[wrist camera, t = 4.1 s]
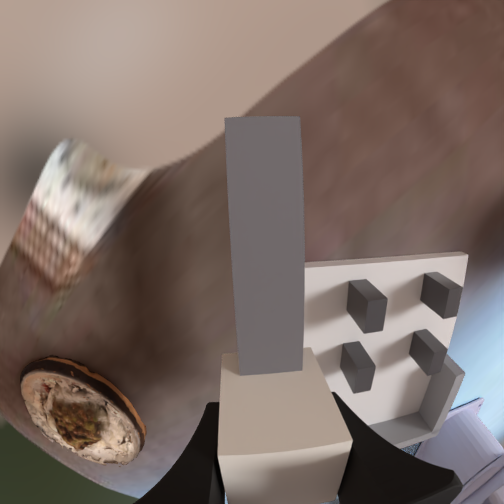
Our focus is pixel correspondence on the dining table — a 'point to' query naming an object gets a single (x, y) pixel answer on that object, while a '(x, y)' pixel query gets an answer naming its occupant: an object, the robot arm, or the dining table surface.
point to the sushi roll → (82, 411)
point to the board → (388, 338)
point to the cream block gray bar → (273, 332)
